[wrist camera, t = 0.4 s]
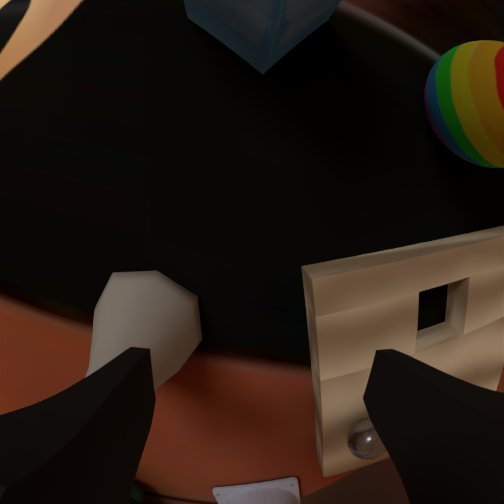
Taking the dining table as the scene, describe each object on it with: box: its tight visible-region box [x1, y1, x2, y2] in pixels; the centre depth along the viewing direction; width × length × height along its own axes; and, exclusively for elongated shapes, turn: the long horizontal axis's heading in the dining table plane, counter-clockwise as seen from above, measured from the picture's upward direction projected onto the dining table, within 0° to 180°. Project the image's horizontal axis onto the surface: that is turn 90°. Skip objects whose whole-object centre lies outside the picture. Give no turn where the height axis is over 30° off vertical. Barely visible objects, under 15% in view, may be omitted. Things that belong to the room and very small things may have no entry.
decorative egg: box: [424, 40, 504, 168], centre depth 12 cm, size 8×8×10 cm
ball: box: [347, 417, 386, 460], centre depth 18 cm, size 3×3×3 cm
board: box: [301, 226, 504, 478], centre depth 20 cm, size 18×18×2 cm
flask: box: [85, 271, 202, 391], centre depth 14 cm, size 7×7×10 cm
